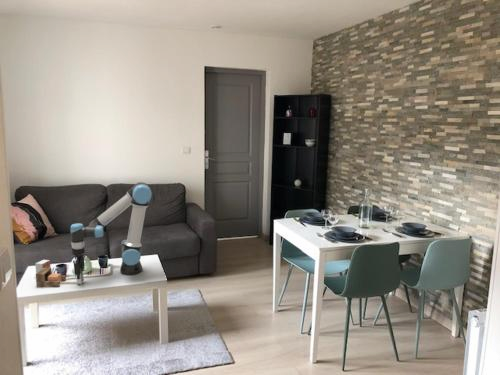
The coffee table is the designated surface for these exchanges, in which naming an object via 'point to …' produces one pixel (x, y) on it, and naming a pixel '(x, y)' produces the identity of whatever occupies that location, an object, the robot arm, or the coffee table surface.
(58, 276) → the tethered block
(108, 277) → the coffee table surface
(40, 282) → the wooden toy block stack
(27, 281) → the coffee table surface
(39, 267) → the small box
